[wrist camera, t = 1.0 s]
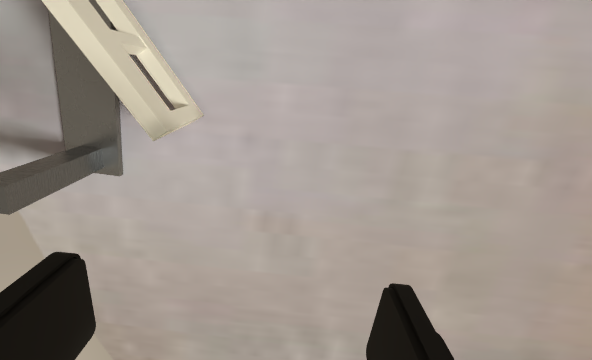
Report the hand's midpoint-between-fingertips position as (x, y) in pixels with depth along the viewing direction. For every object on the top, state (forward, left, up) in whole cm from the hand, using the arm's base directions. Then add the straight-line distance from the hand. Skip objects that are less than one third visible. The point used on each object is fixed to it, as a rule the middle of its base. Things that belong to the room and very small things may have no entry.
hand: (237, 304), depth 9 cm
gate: (-7, -14, -26) cm, 30 cm away
